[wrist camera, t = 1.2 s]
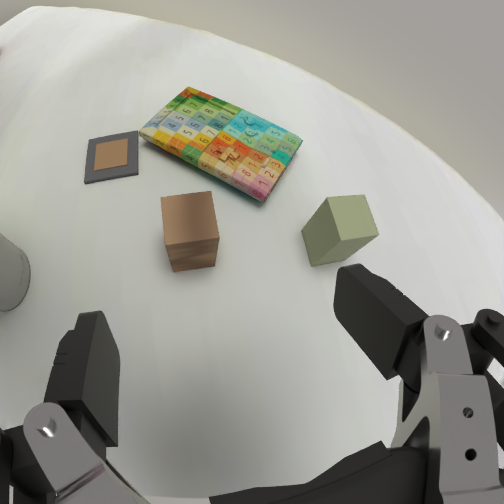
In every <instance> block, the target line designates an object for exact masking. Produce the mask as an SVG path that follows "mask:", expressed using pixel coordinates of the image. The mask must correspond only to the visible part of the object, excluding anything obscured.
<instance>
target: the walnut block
mask: <svg viewBox="0 0 504 504" xmlns="http://www.w3.org/2000/svg"><path fill="white" fill-rule="evenodd" d="M161 208H162V219H163V229H164V238H165V246H166V249H167V253H168V256H169V259H170V263H171V266H172V269H173V272H179V271H186V270H192V269H199V268H206V267H212V266H215V262H216V255H217V249H218V243H219V232H218V227H217V221H216V216H215V210H214V204H213V199H212V193H211V191H206V192H198V193H190V194H182V195H175V196H167V197H161Z"/></svg>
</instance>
